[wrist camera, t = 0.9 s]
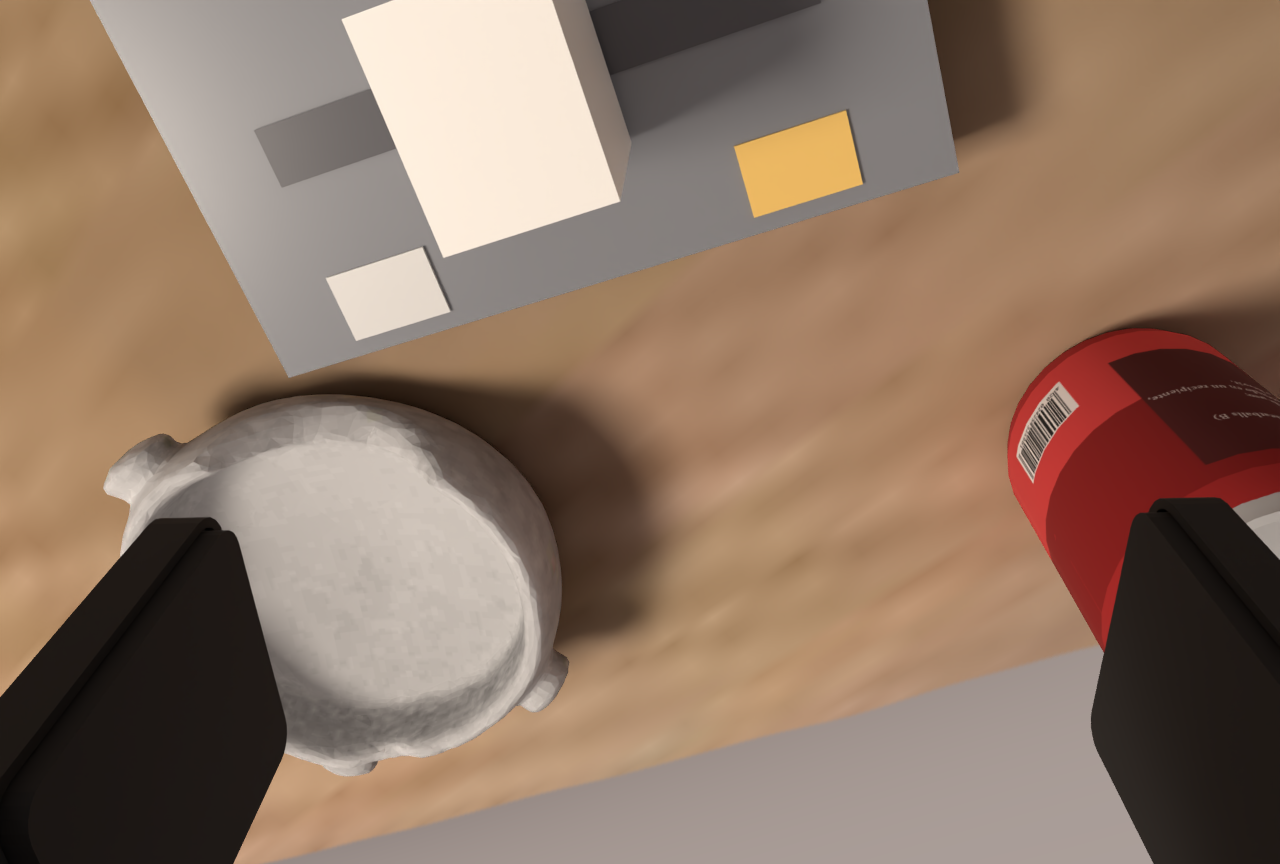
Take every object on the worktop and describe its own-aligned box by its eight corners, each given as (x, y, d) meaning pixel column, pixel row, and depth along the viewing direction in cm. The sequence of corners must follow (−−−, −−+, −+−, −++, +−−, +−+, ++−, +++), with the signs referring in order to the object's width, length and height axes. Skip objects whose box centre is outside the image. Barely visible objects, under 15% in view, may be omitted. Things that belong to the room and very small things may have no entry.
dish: (112, 413, 35) (29, 488, 30) (495, 323, 33) (467, 387, 28) (283, 725, 41) (236, 824, 37) (613, 665, 39) (605, 761, 35)
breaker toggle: (565, -61, 24) (534, -52, 19) (631, 142, 26) (620, 201, 21) (412, -4, 25) (341, 18, 20) (489, 189, 27) (443, 258, 22)
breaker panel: (839, -332, 25) (860, -363, 22) (933, 148, 30) (960, 173, 27) (125, -48, 28) (65, -43, 25) (320, 340, 33) (287, 379, 30)
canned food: (1027, 559, 36) (1157, 801, 26) (973, 367, 33) (1098, 563, 23) (1252, 493, 35) (1479, 723, 25) (1219, 284, 31) (1466, 455, 21)
